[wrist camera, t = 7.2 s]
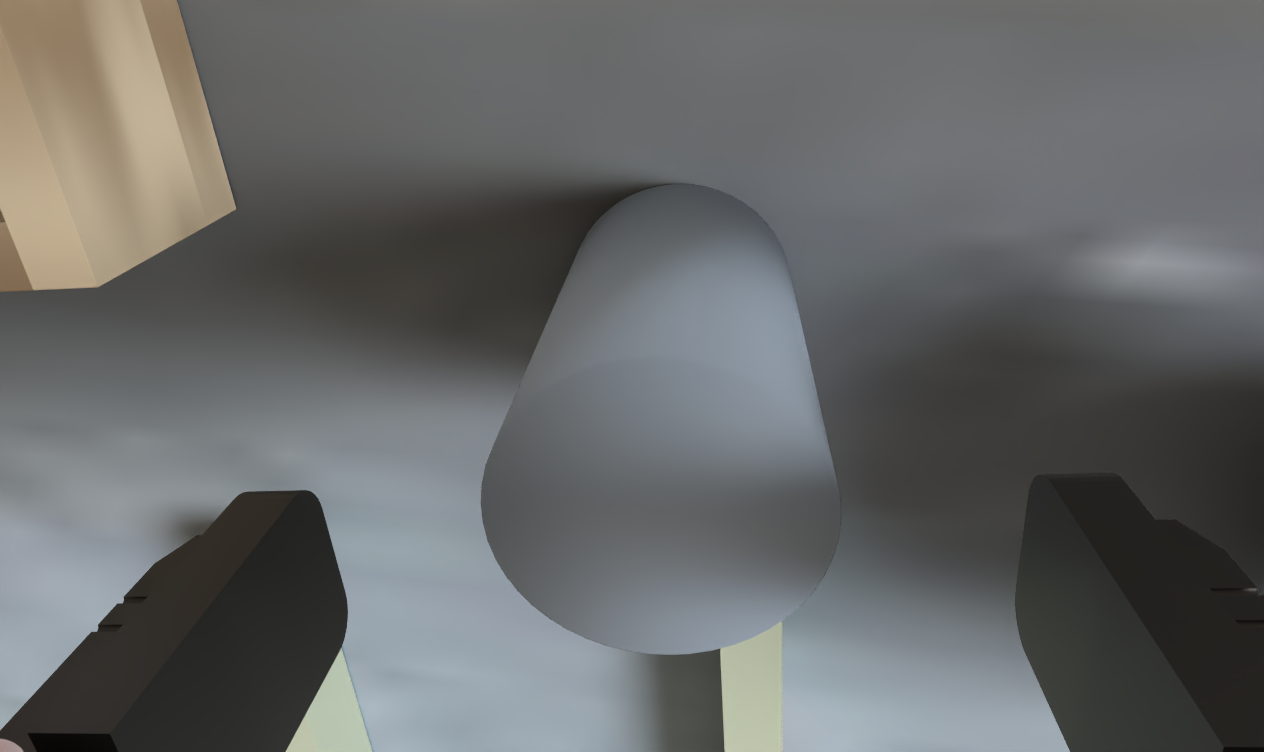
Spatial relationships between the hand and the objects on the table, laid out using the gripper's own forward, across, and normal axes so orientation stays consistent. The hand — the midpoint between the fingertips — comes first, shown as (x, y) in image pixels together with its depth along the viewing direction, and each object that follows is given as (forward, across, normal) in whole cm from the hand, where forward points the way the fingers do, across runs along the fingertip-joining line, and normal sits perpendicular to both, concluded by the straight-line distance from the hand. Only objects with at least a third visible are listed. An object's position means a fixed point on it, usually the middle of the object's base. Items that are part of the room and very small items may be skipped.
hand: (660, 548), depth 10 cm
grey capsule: (+7, 0, -1) cm, 7 cm away
